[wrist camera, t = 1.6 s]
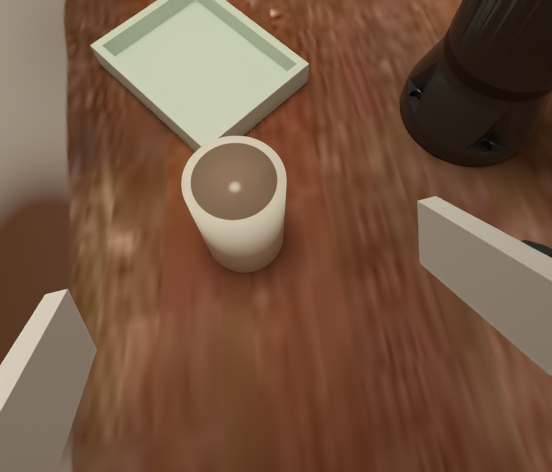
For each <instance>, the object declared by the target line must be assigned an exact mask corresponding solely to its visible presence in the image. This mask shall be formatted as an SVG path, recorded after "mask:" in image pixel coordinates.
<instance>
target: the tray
mask: <svg viewBox="0 0 552 472" xmlns="http://www.w3.org/2000/svg"><path fill="white" fill-rule="evenodd" d="M90 46H91V48H92V50H93V52H94V53H95V55H96V57H97V59H98V61H99V63H100V64H101V65H102V66H103V67H104V68H105V69H106V70H107V71H108V72H109V73H110V74H111V75H112V76H114V77H115V78H116V79H117V80H118V81H119V82H120V83H121V84H122V85H123V86H124V87H125V88H127V89H128V90H129V91H130V92H131V93H132V94H133V95H134V96H135V97H136V98H137V99H139V100H140V101H141V102H142V103H143V104H144V105H145V106H146V107H147V108H148V109H149V110H150V111H152V112H153V113H154V114H155V115H156V116H157V117H158V118H159V119H160V120H161V121H162V122H164V123H165V124H166V125H167V126H168V127H169V128H170V129H171V130H172V131H173V132H174V133H175V134H177V135H178V136H179V137H180V138H181V139H182V140H183V141H184V142H185V143H186V144H187V145H189V146H190V147H191V148H192V149H193V150H194V151H195V152H196V151H197V150H198V149H199V148H201V147H202V146H203V145H205V144H207V143H208V142H210V141H213V140H215V139H218V138H221V137H227V136H243V135H244V134H246V133H247V132H248V131H249V130H250V129H252V128H253V127H254V126H255V125H256V124H258V123H259V122H260V121H261V120H262V119H264V118H265V117H266V116H267V115H268V114H270V113H271V112H272V111H273V110H275V109H276V108H277V107H278V106H279V105H281V104H282V103H283V102H284V101H285V100H287V99H288V98H289V97H290V96H291V95H293V94H294V93H295V92H296V91H297V90H299V89H300V88H301V87H302V86H303V85H305V84H306V83H307V78H308V68H309V63H307V62H306V61H305V60H303V59H302V58H301V57H299V56H298V55H297V54H295V53H294V52H293V51H291V50H290V49H289V48H287V47H286V46H285V45H283V44H282V43H281V42H280V41H278V40H277V39H276V38H274V37H273V36H272V35H270V34H269V33H268V32H266V31H265V30H264V29H262V28H261V27H260V26H258V25H257V24H256V23H255V22H253V21H252V20H251V19H249V18H248V17H247V16H245V15H244V14H243V13H241V12H240V11H239V10H237V9H236V8H235V7H233V6H232V5H231V4H230V3H228V2H227V1H226V0H157V1H156V2H154V3H153V4H151V5H150V6H148V7H147V8H145V9H144V10H142V11H141V12H139V13H138V14H136V15H135V16H133V17H132V18H130V19H129V20H127V21H126V22H124V23H123V24H121V25H120V26H118V27H117V28H115V29H114V30H112V31H111V32H109V33H108V34H106V35H105V36H103V37H102V38H100V39H99V40H97V41H96V42H94V43H93V44H91V45H90Z"/></svg>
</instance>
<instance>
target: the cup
mask: <svg viewBox="0 0 552 472" xmlns="http://www.w3.org/2000/svg"><path fill="white" fill-rule="evenodd" d="M286 181H287V179H286V172H285V168H284V165H283V163H282V161H281V159H280V158H279V156H278V155H277V154H276V152H275V151H274V150H273V149H271V148H270V147H269V146H268V145H266V144H265V143H263V142H261V141H259V140H256V139H254V138H250V137H245V136H227V137H221V138H218V139H215V140H213V141H210V142H208V143H207V144H205V145H203V146H202V147H201V148H199V149H198V150H197V151H196V152H195V153H194V154H193V155H192V156H191V158H190V159H189V161H188V162H187V164H186V166H185V168H184V171H183V175H182V193H183V197H184V199H185V202H186V204H187V206H188V208H189V210H190V212H191V214H192V216H193V218H194V220H195V222H196V224H197V226H198V228H199V230H200V232H201V234H202V237H203V239H204V241H205V243H206V245H207V247H208V249H209V251H210V253H211V255H212V256H213V258H214V259H215V260H216V261H217V262H218V263H219V264H220V265H222V266H223V267H225V268H227V269H229V270H232V271H235V272H243V273H246V272H253V271H257V270H260V269H262V268H264V267H266V266H267V265H269V264H270V263H271V262H272V261H273V260H274V259H275V258H276V257H277V255H278V254H279V252H280V250H281V247H282V244H283V236H284V218H285V200H286Z"/></svg>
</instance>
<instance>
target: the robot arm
mask: <svg viewBox="0 0 552 472" xmlns="http://www.w3.org/2000/svg"><path fill="white" fill-rule="evenodd" d="M551 94H552V0H463V1H462V3H461V5H460V7H459V9H458V11H457V13H456V15H455V17H454V19H453V21H452V23H451V25H450V27H449V29H448V31H447V33H446V35H445V36H444V37H443V38H442V39H441V40H440V41H439V42H438V43H437V44H436V45H435V46H434V47H433V48H432V49H431V50H430V51H429V52H428V53H427V54H426V55H425V56H424V57H423V58H422V59H421V60H420V61H419V62H418V63H417V64H416V66H415V67H414V68H413V70H412V71H411V73H410V75H409V77H408V79H407V81H406V83H405V86H404V88H403V91H402V94H401V99H400V109H401V114H402V118H403V121H404V123H405V125H406V127H407V129H408V131H409V132H410V134H411V135H412V136H413V138H414V139H415V140H416V141H417V142H418V143H419V144H420V145H421V146H422V147H424V148H425V149H426V150H428V151H429V152H430V153H432V154H434V155H435V156H437V157H439V158H441V159H444V160H446V161H449V162H452V163H456V164H460V165H466V166H486V165H491V164H495V163H499V162H501V161H504V160H506V159H508V158H509V157H511V156H512V155H514V154H515V153H516V152H517V151H519V150H520V149H521V148H522V147H523V146H524V145H525V144H526V143H527V142H528V141H529V140H530V138H531V137H532V136H533V134H534V133H535V131H536V130H537V128H538V126H539V123H540V121H541V119H542V116H543V114H544V111H545V109H546V106H547V104H548V102H549V99H550V97H551ZM417 205H418V232H419V260H420V264H421V265H422V266H424V267H425V268H426V269H427V270H428V271H429V272H431V273H432V274H433V275H434V276H435V277H436V278H437V279H439V280H440V281H441V282H442V283H443V284H444V285H446V286H447V287H448V288H449V289H450V290H451V291H453V292H454V293H455V294H456V295H457V296H458V297H459V298H461V299H462V300H463V301H464V302H465V303H466V304H468V305H469V306H470V307H471V308H472V309H473V310H474V311H476V312H477V313H478V314H479V315H480V316H481V317H483V318H484V319H485V320H486V321H487V322H488V323H489V324H491V325H492V326H493V327H494V328H495V329H496V330H498V331H499V332H500V333H501V334H502V335H503V336H505V337H506V338H507V339H508V340H509V341H510V342H511V343H513V344H514V345H515V346H516V347H517V348H518V349H520V350H521V351H522V352H523V353H524V354H525V355H526V356H528V357H529V358H530V359H531V360H532V361H533V362H535V363H536V364H537V365H538V366H539V367H540V368H541V369H543V370H544V371H545V372H546V373H547V374H548V375H550V376H552V249H550V248H548V247H547V246H545V245H542V244H538V243H534V242H530V241H527V240H523V241H519V240H517V239H515V238H513V237H511V236H510V235H508V234H506V233H504V232H502V231H500V230H498V229H496V228H495V227H493V226H491V225H489V224H487V223H485V222H483V221H482V220H480V219H478V218H476V217H474V216H472V215H470V214H468V213H467V212H465V211H463V210H461V209H459V208H457V207H455V206H453V205H452V204H450V203H448V202H446V201H444V200H442V199H440V198H439V197H437V196H434V197H430V198H426V199H422V200H418V201H417ZM96 351H97V349H96V347H95V345H94V343H93V341H92V339H91V337H90V335H89V332H88V330H87V328H86V326H85V324H84V322H83V320H82V318H81V316H80V313H79V311H78V309H77V307H76V305H75V303H74V301H73V299H72V297H71V295H70V292H69V290H68V289H66V290H61V291H57V292H54V293H49V294H46V295H45V296H44V298H43V299H42V301H41V302H40V304H39V305H38V307H37V309H36V310H35V312H34V313H33V315H32V316H31V318H30V320H29V321H28V323H27V324H26V326H25V328H24V329H23V331H22V332H21V334H20V335H19V337H18V338H17V340H16V342H15V343H14V345H13V346H12V348H11V349H10V351H9V353H8V354H7V356H6V357H5V359H4V361H3V362H2V364H1V365H0V472H57V469H58V466H59V463H60V460H61V457H62V454H63V451H64V448H65V445H66V442H67V438H68V436H69V433H70V430H71V426H72V423H73V420H74V417H75V414H76V411H77V408H78V405H79V402H80V399H81V396H82V393H83V390H84V387H85V384H86V381H87V378H88V375H89V372H90V369H91V366H92V363H93V360H94V357H95V354H96Z"/></svg>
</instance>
